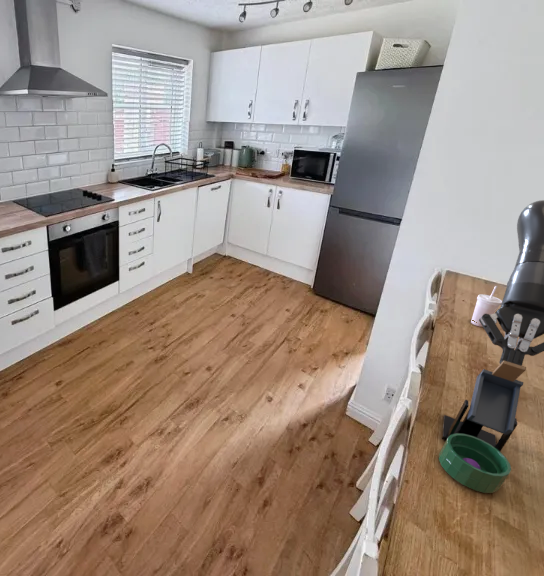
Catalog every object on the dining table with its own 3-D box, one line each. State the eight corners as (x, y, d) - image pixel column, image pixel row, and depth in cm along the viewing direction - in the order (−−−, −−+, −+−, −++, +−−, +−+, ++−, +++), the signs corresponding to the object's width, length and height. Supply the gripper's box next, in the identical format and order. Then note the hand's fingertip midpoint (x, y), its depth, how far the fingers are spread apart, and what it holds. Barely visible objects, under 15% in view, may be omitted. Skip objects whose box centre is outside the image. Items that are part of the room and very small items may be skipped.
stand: (443, 417, 83) (461, 380, 79) (493, 437, 78) (516, 399, 74) (441, 441, 77) (461, 403, 72) (496, 465, 72) (521, 426, 67)
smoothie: (490, 324, 124) (510, 287, 118) (488, 331, 120) (508, 292, 114) (467, 317, 128) (485, 280, 122) (464, 323, 124) (482, 285, 118)
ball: (466, 482, 68) (463, 470, 71) (486, 479, 66) (482, 466, 69) (455, 468, 68) (453, 456, 71) (475, 464, 67) (472, 452, 69)
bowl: (459, 446, 76) (469, 429, 74) (510, 487, 68) (523, 468, 66) (426, 457, 73) (435, 439, 71) (475, 500, 65) (487, 481, 63)
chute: (476, 376, 75) (493, 357, 69) (515, 389, 72) (536, 370, 66) (466, 419, 71) (484, 403, 65) (507, 435, 68) (529, 419, 62)
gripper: (496, 272, 73) (471, 350, 70) (590, 292, 66) (567, 380, 63) (484, 288, 79) (460, 360, 76) (568, 308, 72) (547, 388, 69)
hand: (508, 369), depth 69 cm, fingers closed
